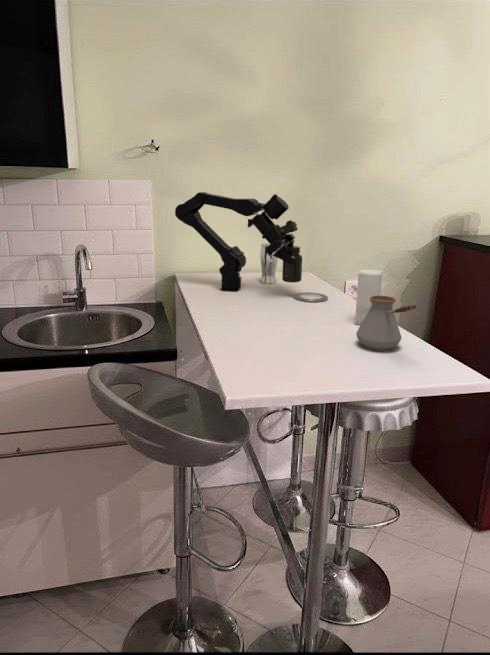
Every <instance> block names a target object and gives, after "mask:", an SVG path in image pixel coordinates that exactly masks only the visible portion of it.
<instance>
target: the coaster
mask: <svg viewBox="0 0 490 655" xmlns="http://www.w3.org/2000/svg"><path fill="white" fill-rule="evenodd" d="M293 299H294V300H296V301H299V302H304V303H323V302H324V303H325V302H326V301H328V299H329V296H327V295H326V294H323V293H319V292H318V293H317V292H309V291H308V292H307V291H306V292H305V291H304V292H297V293H294V294H293Z"/></svg>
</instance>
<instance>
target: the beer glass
mask: <svg viewBox="0 0 490 655" xmlns="http://www.w3.org/2000/svg"><path fill="white" fill-rule="evenodd" d="M269 245H270V243H262V244H261V245H260V255H259V258H260V259H259V260H260V267H261V277H260V278H261V279H260V283H261V284H263V285H264V284H265V285H275V284H276V283H277V281H276V280H277V279H276V270H277V265H278V260H279V258H277V257H275V256H272V255H273V254H275V252H273V254H272V255H270V256H269V255H268V254H267V252H266V248H267V247H268V246H269Z"/></svg>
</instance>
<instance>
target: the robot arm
mask: <svg viewBox="0 0 490 655" xmlns="http://www.w3.org/2000/svg"><path fill="white" fill-rule="evenodd" d="M204 205H207V206H212V207H217V208H222V209H227V210H232V211H233V212H236V213H237V214H239V215H241V216H244V217H251V216H253V217H252V218H249V219H247V228H251V227H253V226H254V228H256V229H257V231H258V232H259V233H260V234H261V235H262V236H261V238H262V239H263V240H266V241H267V242H268V244H270V245H269V246H268V247H267V248H266V252H267V254H268V255H269V256H270V255H272V254H273V252H275V254H273V255H272V256H275V257H277V258H278V260H282V262H283V261H285V262H287V263H289V264H291V265H294V264H295V262H294V260H293V258H292V257H291V255H290V254H289V252H288V251H287V246H295V245H294V244H295V239H296V236H294V235H293V233H294V232H297V231H298V226H297V225H298V224H297V223H296V221H293V220H292V219H290V220H287V221H286V222H285V225H282V226H280V225H279V224H275V222H274V221H273V220H279V219H280V217H281V216H282V215H283V214H285V213H286V212H287V211H288V210H289V209H290V206H289V205H288V203H287V202H286V201H285V200H284V199H282V197H280V196H278V194H273V195H271V197H270V199H269V200H267V202H266V203H261V202H259V201H258V200H257V199H256V198H233V197H229V196H224V195H223V196H222V195H218V194H213V193H208V192H206V191H201V192H197V193H196V194H195V195H194V196H193V197H191V198H189V199H188V200H186V201H185V202H184V203H181V204H178V205H176V207H175V209H174V216H175V217H176V218H177V220H178V221H180V222H182V223H183V224H185V225H187V226H189V227H191V228H193V230H195V231H196V233H198V234H199V235H200V236H201V237H202V239H204V240H205V242H207V243H208V244H209V246H210V247H212V248H213V249H214V251H216V252H217V253H218V255H219V256H220V258H221V260H222V263H223V265H222V266H221V267H220V268H218V270H219V273H220V275H221V287H220V289H219V290H220V291H223V292H238V291H240V289H241V287H242V277H241V276H240V275H241V273H240V272H241V271H242V268H244V267H245V265H247V258H246V255H245V252H243V251H242V250H241V249H240V248H239V247H238V245H235V246H232V247H231V246H230V245H228V243H227V242H225V240H224V239H222V238H221V236H220V235H219V234H217V232H216V231H215V230H213V228H212V227H211V226H210V225H208V223H207V222H206V221H204V220H203V218H202V216H201V213H200V210H201V209H202V208H203V207H204ZM259 212H261V213H260V214H259Z"/></svg>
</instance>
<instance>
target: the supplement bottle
mask: <svg viewBox="0 0 490 655" xmlns="http://www.w3.org/2000/svg"><path fill="white" fill-rule="evenodd" d="M287 251H288V252H289V254H290V255H291V257H292V258H293V260H294V262H295V264H294V265H291V264H289V263H287V262H285V261H283V260H282V270H281V271H282V275H281V277H282V279H281V280H282V281H283V282H285V283H299V282H301V281H302V272H303V256H302V255H301V246H297V245H296V246H295V245H294V246H287Z"/></svg>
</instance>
